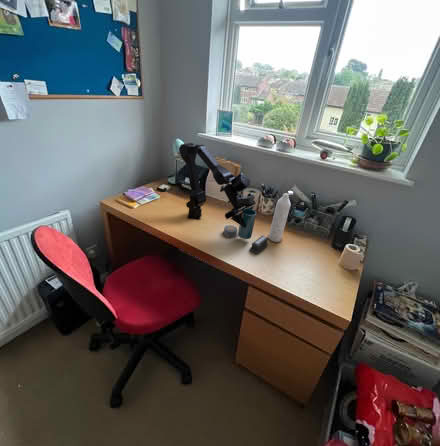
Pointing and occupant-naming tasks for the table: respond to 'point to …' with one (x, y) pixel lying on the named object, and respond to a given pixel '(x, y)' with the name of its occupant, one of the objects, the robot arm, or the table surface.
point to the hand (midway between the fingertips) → (249, 224)
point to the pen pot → (247, 223)
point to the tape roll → (230, 231)
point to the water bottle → (280, 217)
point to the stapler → (259, 244)
